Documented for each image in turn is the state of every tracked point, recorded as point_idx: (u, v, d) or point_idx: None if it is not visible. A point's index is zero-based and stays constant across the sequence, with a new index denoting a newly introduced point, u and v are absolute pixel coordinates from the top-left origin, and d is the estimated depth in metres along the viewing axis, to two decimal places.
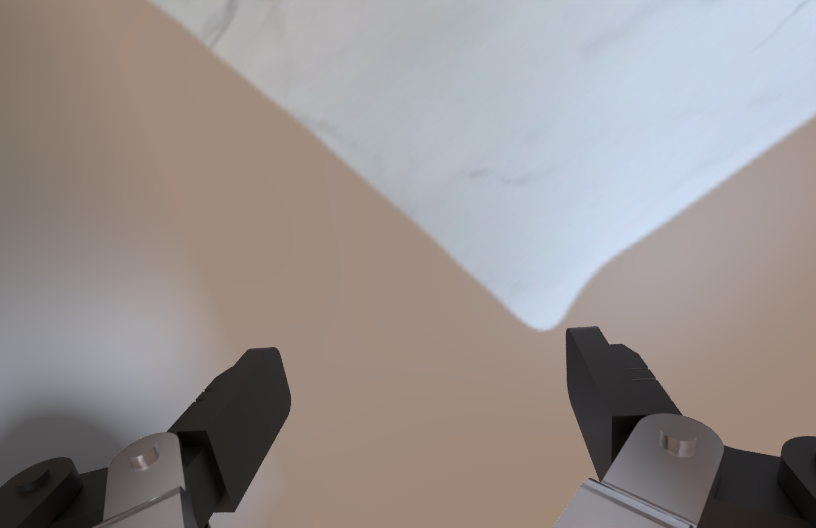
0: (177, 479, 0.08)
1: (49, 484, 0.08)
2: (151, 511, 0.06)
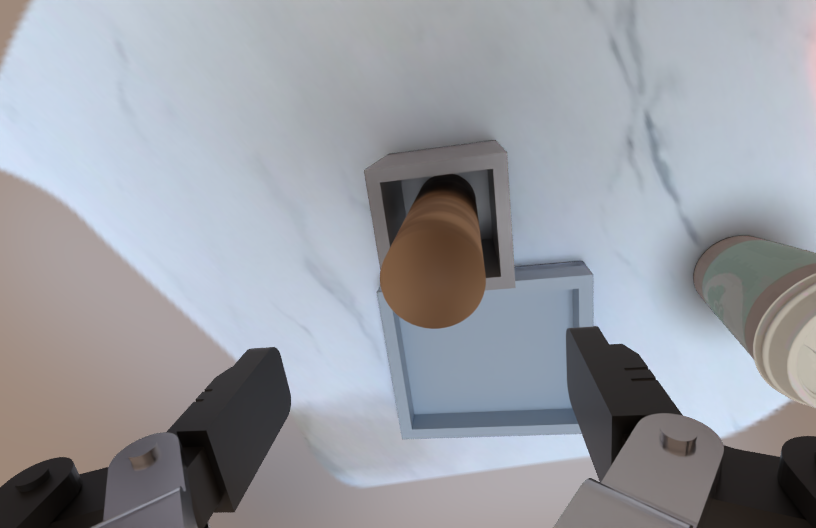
0: (177, 479, 0.08)
1: (49, 484, 0.08)
2: (151, 511, 0.06)
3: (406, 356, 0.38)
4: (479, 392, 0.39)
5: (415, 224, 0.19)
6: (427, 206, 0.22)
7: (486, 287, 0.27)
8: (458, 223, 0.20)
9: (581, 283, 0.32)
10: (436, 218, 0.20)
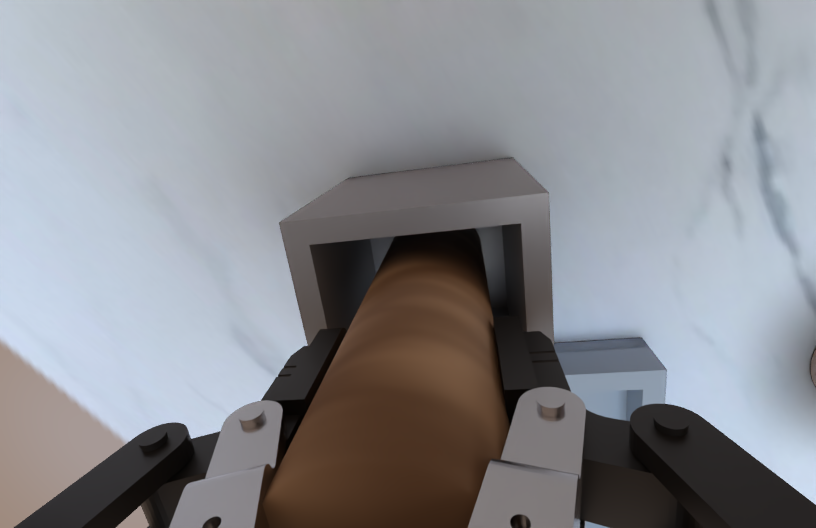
0: (271, 452, 0.08)
1: (169, 445, 0.09)
2: (236, 484, 0.07)
3: None
4: None
5: (347, 401, 0.08)
6: (391, 313, 0.11)
7: None
8: (457, 387, 0.08)
9: (648, 382, 0.21)
10: (402, 378, 0.08)
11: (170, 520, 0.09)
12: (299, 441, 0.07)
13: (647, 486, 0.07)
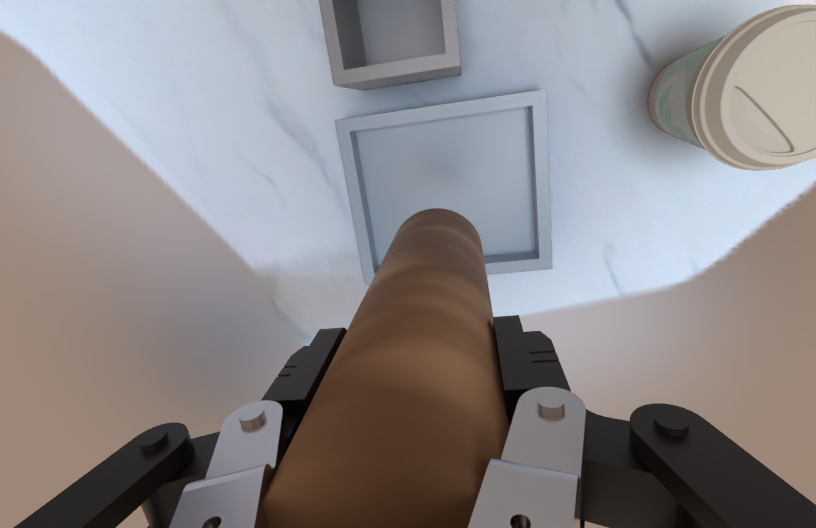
0: (271, 453, 0.08)
1: (170, 445, 0.09)
2: (236, 484, 0.07)
3: (368, 201, 0.39)
4: None
5: (347, 400, 0.08)
6: (390, 312, 0.11)
7: (432, 66, 0.27)
8: (456, 387, 0.08)
9: (535, 100, 0.33)
10: (402, 378, 0.08)
11: (170, 520, 0.09)
12: (299, 441, 0.07)
13: (647, 486, 0.07)
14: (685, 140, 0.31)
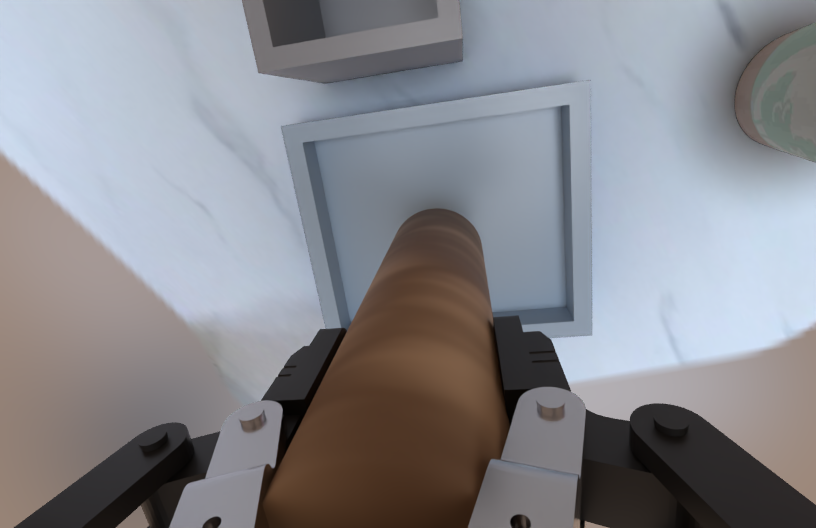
0: (271, 452, 0.08)
1: (170, 445, 0.09)
2: (236, 484, 0.07)
3: (335, 237, 0.28)
4: None
5: (347, 401, 0.07)
6: (391, 313, 0.11)
7: (415, 40, 0.16)
8: (456, 387, 0.08)
9: (573, 96, 0.22)
10: (402, 379, 0.08)
11: (170, 520, 0.09)
12: (299, 441, 0.07)
13: (647, 486, 0.07)
14: (806, 157, 0.20)
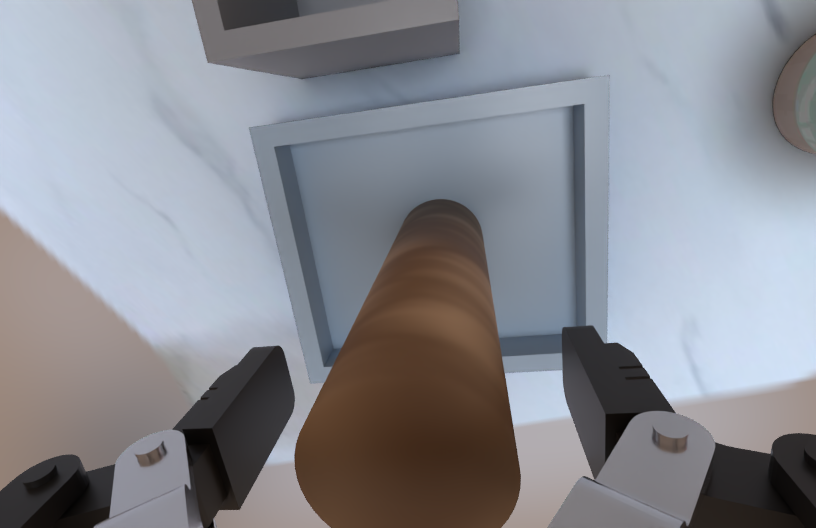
0: (183, 477, 0.08)
1: (56, 481, 0.08)
2: (156, 509, 0.06)
3: (315, 253, 0.25)
4: None
5: (372, 343, 0.09)
6: (404, 282, 0.12)
7: (400, 22, 0.13)
8: (460, 335, 0.10)
9: (589, 94, 0.19)
10: (416, 327, 0.10)
11: None
12: (335, 374, 0.09)
13: None
14: None
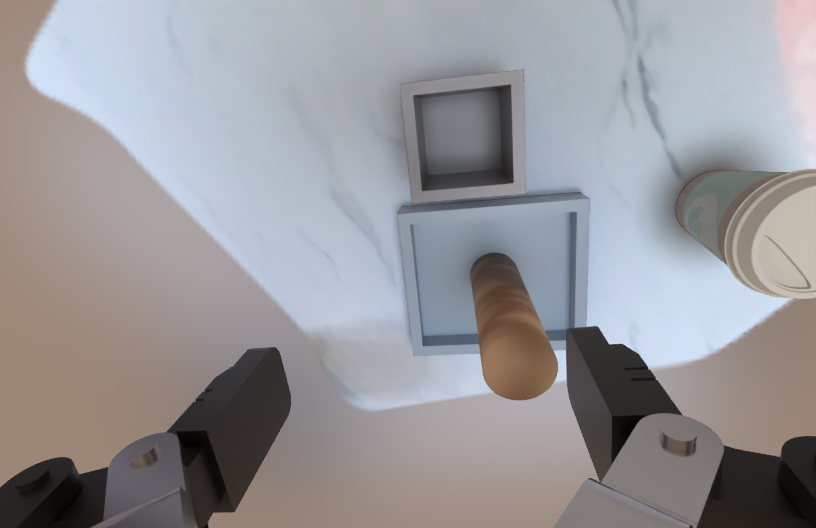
0: (177, 479, 0.08)
1: (49, 484, 0.08)
2: (151, 511, 0.06)
3: (419, 280, 0.42)
4: None
5: (506, 325, 0.27)
6: (504, 303, 0.30)
7: (500, 193, 0.31)
8: (534, 324, 0.28)
9: (579, 207, 0.37)
10: (519, 320, 0.27)
11: None
12: (494, 335, 0.27)
13: None
14: None
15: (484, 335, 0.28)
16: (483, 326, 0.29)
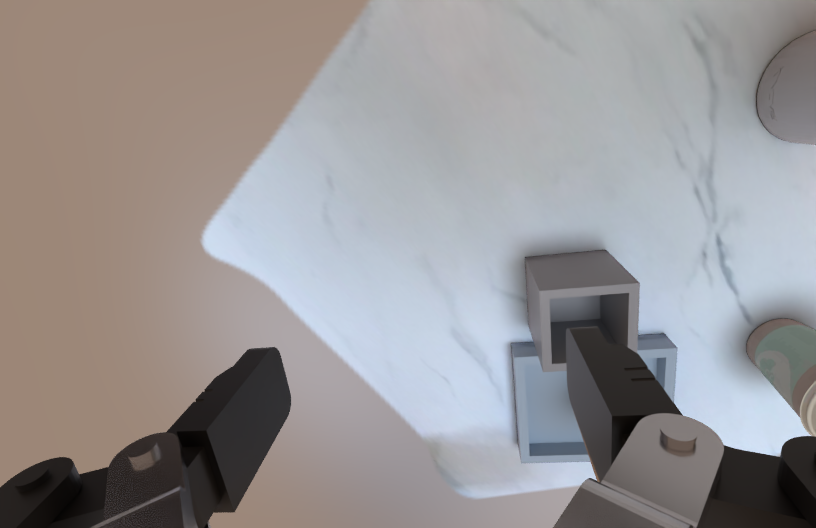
0: (177, 479, 0.08)
1: (49, 484, 0.08)
2: (151, 511, 0.06)
3: (525, 400, 0.51)
4: None
5: None
6: None
7: None
8: None
9: (668, 354, 0.45)
10: None
11: None
12: None
13: None
14: None
15: None
16: None
